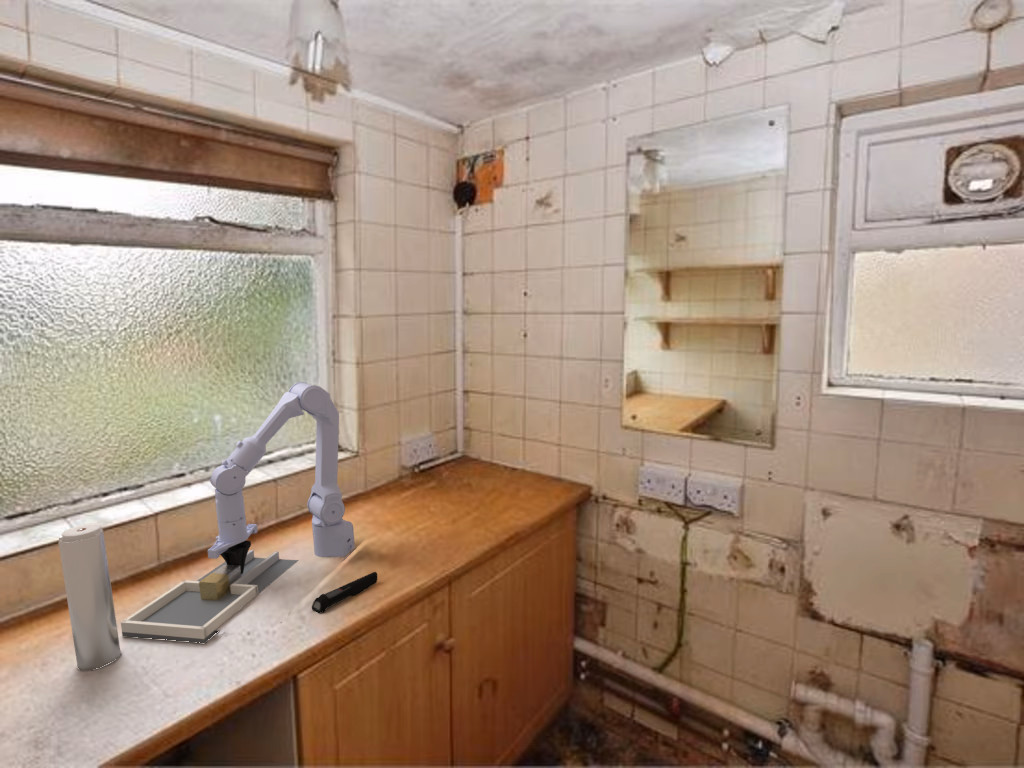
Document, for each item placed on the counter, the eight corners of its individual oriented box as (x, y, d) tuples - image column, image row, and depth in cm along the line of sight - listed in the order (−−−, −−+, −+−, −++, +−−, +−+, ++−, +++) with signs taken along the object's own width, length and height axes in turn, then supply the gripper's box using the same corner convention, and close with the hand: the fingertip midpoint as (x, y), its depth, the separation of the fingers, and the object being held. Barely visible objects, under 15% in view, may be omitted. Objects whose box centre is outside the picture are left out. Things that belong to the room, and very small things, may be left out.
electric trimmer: (382, 586, 129) (381, 573, 128) (320, 615, 117) (319, 601, 116) (371, 581, 131) (371, 568, 131) (310, 610, 119) (309, 595, 119)
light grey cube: (241, 582, 129) (240, 565, 129) (230, 591, 125) (228, 574, 125) (226, 581, 130) (224, 564, 129) (214, 589, 126) (212, 572, 126)
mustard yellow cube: (229, 591, 125) (228, 574, 125) (217, 600, 122) (215, 583, 121) (213, 590, 126) (211, 573, 126) (200, 599, 122) (198, 581, 122)
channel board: (298, 564, 140) (297, 552, 139) (204, 643, 108) (202, 629, 107) (233, 560, 143) (231, 548, 143) (122, 636, 111) (120, 622, 111)
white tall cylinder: (92, 650, 107) (73, 523, 103) (128, 647, 107) (110, 521, 104) (68, 672, 100) (47, 537, 97) (107, 669, 101) (87, 535, 97)
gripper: (236, 505, 137) (242, 559, 139) (192, 529, 123) (199, 589, 125) (263, 506, 135) (268, 560, 137) (221, 531, 121) (228, 591, 123)
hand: (237, 574), depth 131 cm, fingers closed
